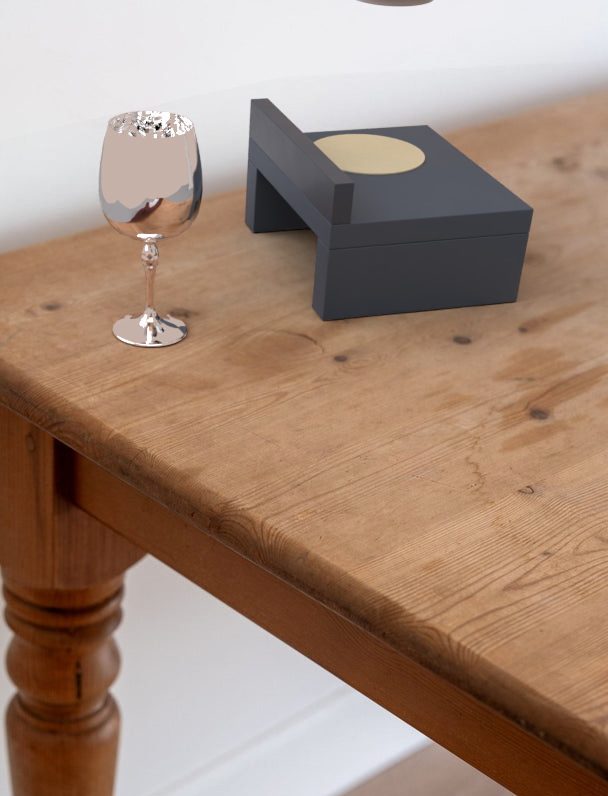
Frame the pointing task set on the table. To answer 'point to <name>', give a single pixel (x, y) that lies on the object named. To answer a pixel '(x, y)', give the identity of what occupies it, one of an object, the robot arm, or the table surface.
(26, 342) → the table surface
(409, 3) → the beverage can
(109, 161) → the wineglass
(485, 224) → the dark grey stand
